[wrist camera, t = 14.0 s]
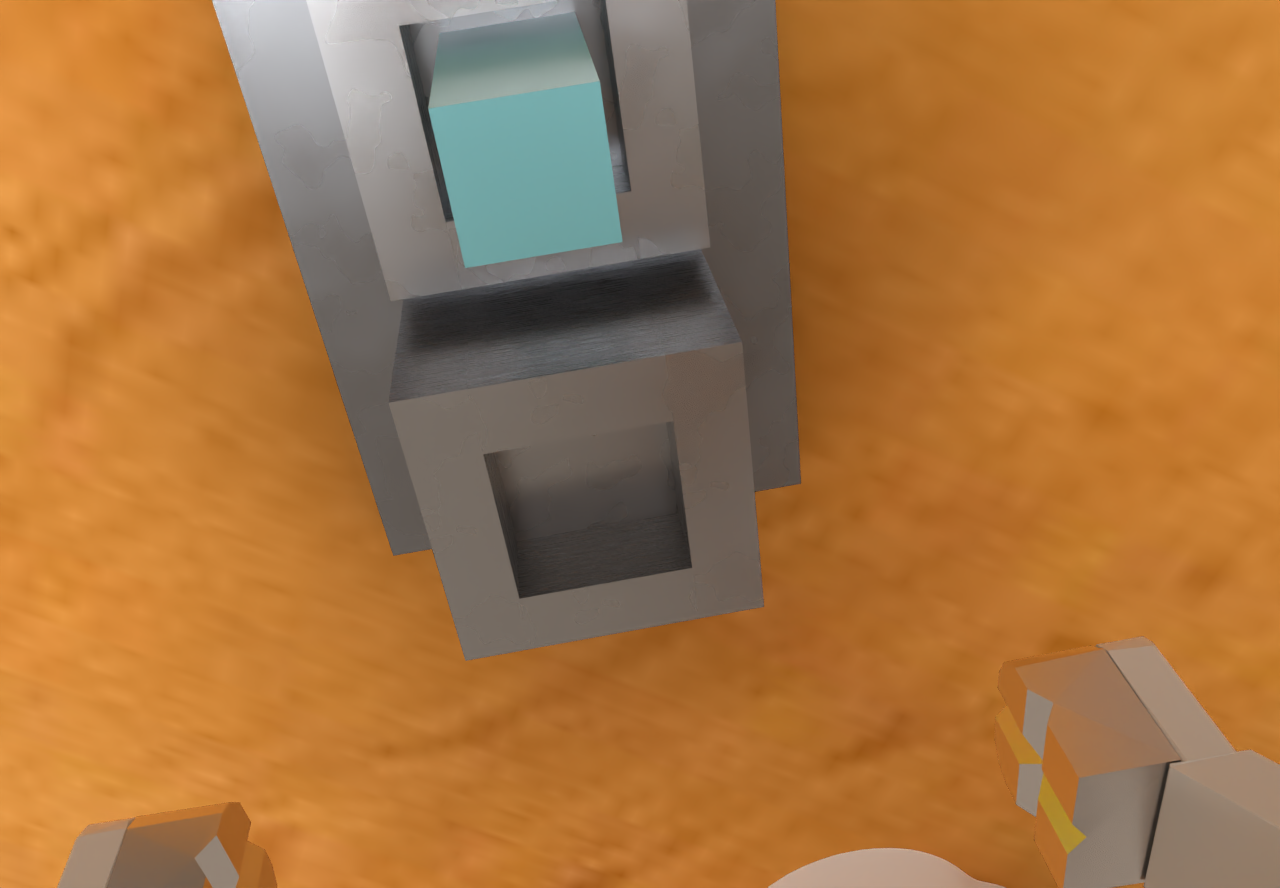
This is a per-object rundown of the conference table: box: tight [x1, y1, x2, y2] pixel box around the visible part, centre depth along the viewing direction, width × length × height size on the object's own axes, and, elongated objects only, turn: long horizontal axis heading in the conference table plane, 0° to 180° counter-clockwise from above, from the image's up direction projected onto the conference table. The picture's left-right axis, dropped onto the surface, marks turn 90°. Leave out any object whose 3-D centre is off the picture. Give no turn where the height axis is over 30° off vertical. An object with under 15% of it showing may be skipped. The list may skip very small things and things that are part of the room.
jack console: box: [212, 0, 801, 661], centre depth 33 cm, size 22×16×8 cm
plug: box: [428, 12, 623, 268], centre depth 29 cm, size 4×4×8 cm
